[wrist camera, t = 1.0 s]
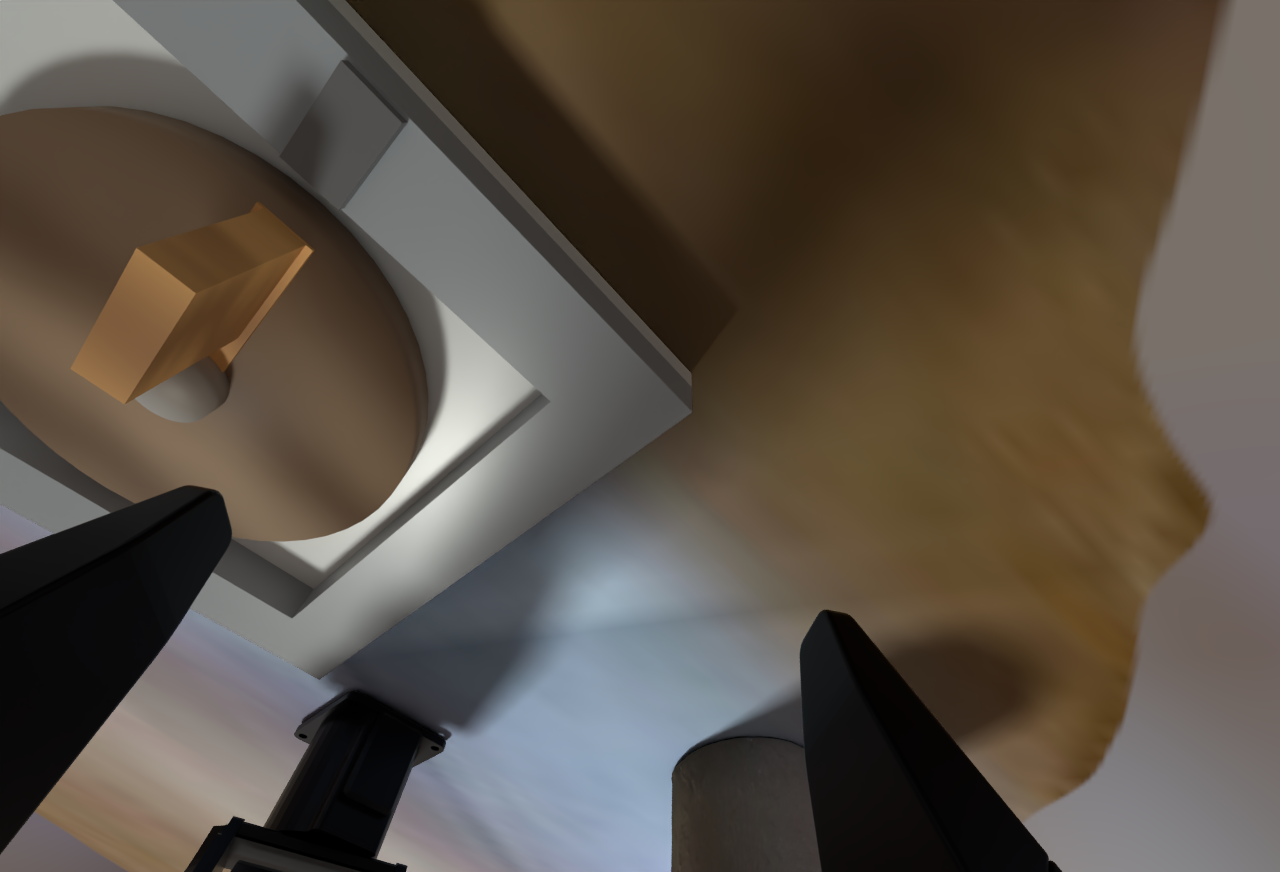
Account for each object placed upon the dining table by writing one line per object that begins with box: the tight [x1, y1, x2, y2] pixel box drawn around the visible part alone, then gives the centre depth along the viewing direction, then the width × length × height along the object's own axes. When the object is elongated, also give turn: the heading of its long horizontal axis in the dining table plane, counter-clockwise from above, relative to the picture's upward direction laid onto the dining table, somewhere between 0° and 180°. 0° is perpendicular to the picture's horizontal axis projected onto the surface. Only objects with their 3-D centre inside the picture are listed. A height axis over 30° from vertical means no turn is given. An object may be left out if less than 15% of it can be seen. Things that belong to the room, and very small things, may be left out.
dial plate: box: [0, 0, 692, 680], centre depth 18 cm, size 22×22×3 cm
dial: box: [0, 106, 428, 542], centre depth 16 cm, size 14×14×5 cm
